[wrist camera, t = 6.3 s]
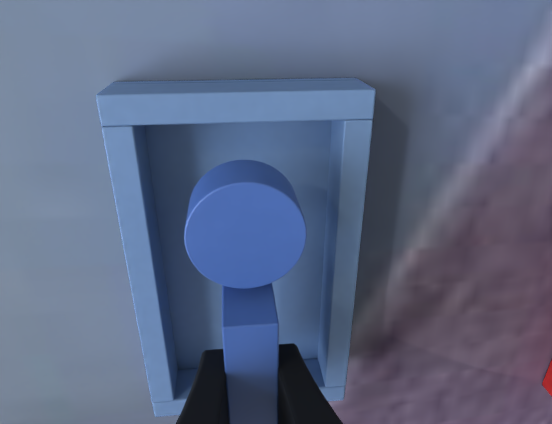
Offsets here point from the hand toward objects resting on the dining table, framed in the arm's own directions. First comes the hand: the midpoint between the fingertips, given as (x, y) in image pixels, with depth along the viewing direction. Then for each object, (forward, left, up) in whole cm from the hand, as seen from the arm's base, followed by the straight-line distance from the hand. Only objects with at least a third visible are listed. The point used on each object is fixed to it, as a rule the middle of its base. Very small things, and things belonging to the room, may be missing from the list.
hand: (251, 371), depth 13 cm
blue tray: (+2, 0, -4) cm, 4 cm away
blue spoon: (+2, 0, -1) cm, 2 cm away
